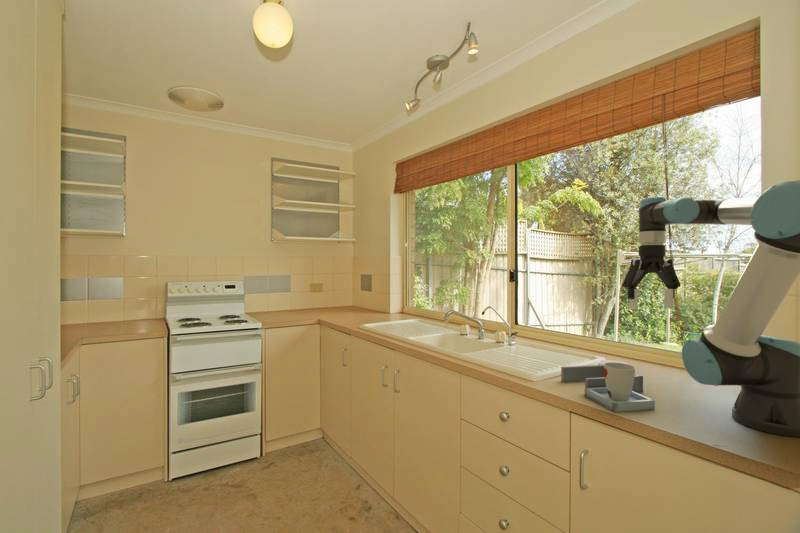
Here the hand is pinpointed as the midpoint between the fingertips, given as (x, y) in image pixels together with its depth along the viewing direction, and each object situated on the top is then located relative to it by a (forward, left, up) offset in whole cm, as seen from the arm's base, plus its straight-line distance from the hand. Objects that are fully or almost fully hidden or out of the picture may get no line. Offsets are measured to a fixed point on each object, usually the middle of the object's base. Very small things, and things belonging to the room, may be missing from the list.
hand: (651, 308), depth 129 cm
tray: (-9, +19, -27) cm, 34 cm away
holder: (+5, +14, -27) cm, 31 cm away
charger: (+18, -1, -27) cm, 32 cm away
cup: (-9, +19, -26) cm, 34 cm away
